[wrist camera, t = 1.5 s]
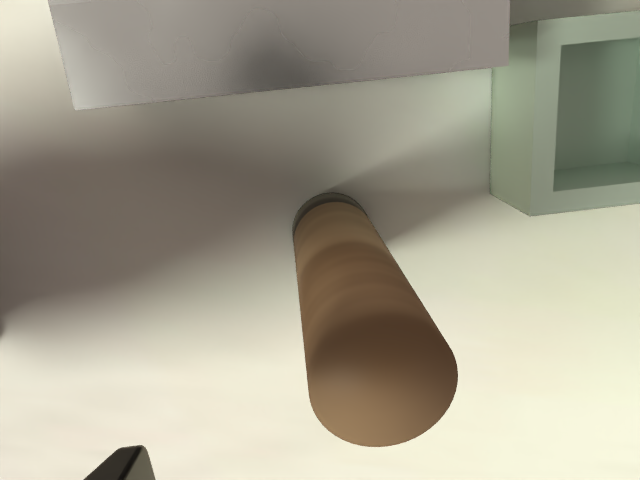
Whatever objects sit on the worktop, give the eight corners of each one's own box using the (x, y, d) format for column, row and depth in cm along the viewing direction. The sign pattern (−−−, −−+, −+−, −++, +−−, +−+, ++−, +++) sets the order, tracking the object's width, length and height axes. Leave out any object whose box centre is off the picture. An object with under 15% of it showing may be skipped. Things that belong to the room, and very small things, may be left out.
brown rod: (371, 261, 22) (458, 436, 11) (297, 270, 22) (316, 456, 11) (366, 188, 21) (456, 307, 10) (288, 197, 21) (300, 327, 10)
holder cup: (637, 176, 21) (703, 196, 18) (490, 193, 21) (529, 216, 18) (655, 13, 19) (733, 1, 16) (492, 28, 19) (537, 20, 16)
